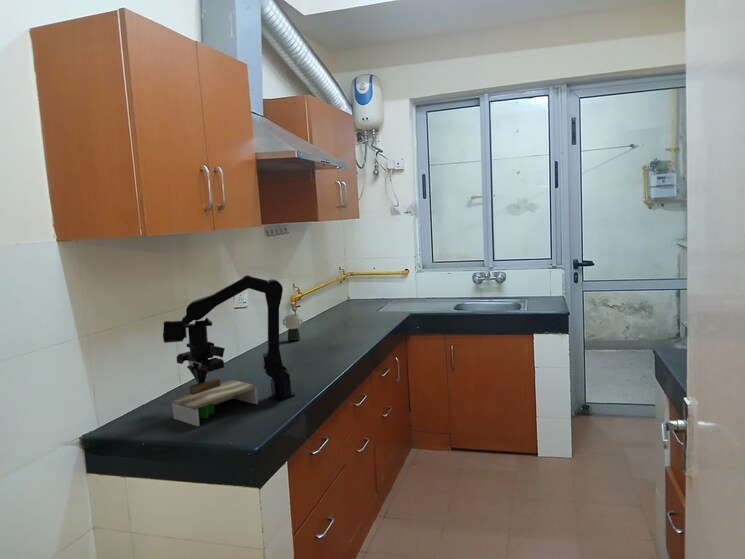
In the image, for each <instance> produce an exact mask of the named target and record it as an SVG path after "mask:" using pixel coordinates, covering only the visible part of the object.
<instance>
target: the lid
mask: <svg viewBox="0 0 745 559" xmlns="http://www.w3.org/2000/svg"><path fill="white" fill-rule="evenodd" d="M255 388H256V389H257V388H258V386H257V385H256V384H251V383H248V382H243V381H239V380H233V379H232V380H229V381H228V380H227V381H226V382H223V383H221V378H217V377H216V378H212V379H209V380H205V382H202V383H199V384H198V383H196V384H195V383H194V384H193V385H190V386H189V393H188V394H185V395H182V396H179V397H175V398H172V399H171V402H172V403H173V402H174V403H177V404H181V405H184V406H187V407H191V408H194V409H197V408H200V407H203V406H206V405H209V404H212V403H215V402H217V401H220V400H223V399H226V398H229V397H232V396H235V395H238V394H240V393H243V392H246V391H249V390H252V389H255Z"/></svg>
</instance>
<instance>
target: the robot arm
mask: <svg viewBox="0 0 745 559" xmlns="http://www.w3.org/2000/svg"><path fill="white" fill-rule="evenodd" d="M248 289H250V290H253V291H256V292H258V293H259V292H260V293H264V297H265V301H266V306H267V307H266V308H267V350H266V352H262V358H263V359H262V360H263V361H262V368H263V370H265V373H266V375H267V376H268V377H269V378H270V387H271V389H270V390H271V395H268V398H269V399H273V400H277V401H284V400H287V399H289V398H292V397H294V396H296V393H294V392H292V382H291V375H290V374H291V373H290V372H289V369H288V368H287V367H286V366H285V365H283V362H282V356H281V351H280V306H281V302H282V298H283V291H284V289H283V286H282V283H280V281H278V280H276V279H273V278H272V279H271V278H270V279H268V280H266V279H263V278H257V277H255V276H251V275H248V274H247V275H244V276H243V277H242V278H239V279H238V280H236V281H235V282H233V283H231V284H229V285H227V286H226V287H224V288H222V289H220V290H217V292H214V293H212V294H210V295H208V296H204V297H201V298H198V299H196V300H195V299H194V300H192V301H191V302H190V303H189V304H188V305H187V307H186V310H185V312H186V314H185V315H184V316H182V319H181V320H172V321H171V320H165V321H164V322H163V331H162V332H163V333H162V338H163V343H164V344H167V343H177V342H179V343H180V342H184V339H187V336H188V343H186V347H187V348H189V351H186V352H182V353H178V354H177V356H176V363H177V364H181V365H183V364H184V362H186V361H187V363H188V365H187V366H186V367H187V369H188V370H189V372H190V373H191V374H192V376H193V378H194V379H195V380H196V382H197V384H199V383H202V382H205V381H206V379H207V375H208V372H213V371H217V370H219V369H223V368H225V360H223V359H222V358H223V357H224V354H225V349H226V348H225V347H221V346H217V345H215V343H214V342H211V341H209V339H208V327H212V326H213V321H211V320H210V319H209V318H208V317H206V316H207V315H208V314H209V313H211V311H213V309H214V308H216V307H217V306H219V305H221V304H222V303H224V302H226V301H228V300H230V299H232V298H233V297H235V296H237V295H239V294H242V292H244V291H246V290H248ZM204 317H205V319H204V320H201V319H203V318H204ZM193 321H194V323H192V322H193ZM187 330H188V331H187ZM187 332H188V333H187ZM187 334H188V335H187ZM218 357H219V358H218Z"/></svg>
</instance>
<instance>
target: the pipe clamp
mask: <svg viewBox="0 0 745 559" xmlns="http://www.w3.org/2000/svg"><path fill="white" fill-rule="evenodd" d="M214 407H215V405H214V404H213V403H212V404H209V405H206V406H203V407H200V408H197V409H198V414H199V420H201V419H209V415H210V414H211V415H212V414H215V408H214Z"/></svg>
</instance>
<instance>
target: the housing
mask: <svg viewBox="0 0 745 559" xmlns="http://www.w3.org/2000/svg"><path fill="white" fill-rule="evenodd" d="M257 391H258V390H257V388H255V389H252V390H249V391H246V392H243V393H240V394H238V395H235V396H232V397H229V398H226V399H223V400H220V401H217V402H215V403H213V404H214V406H216V405H218V404H221V403H224V402H228V401H229V400H233V399H234V400H239V401H242V402H245V403H249V404H254V405H258V404H259V401H258V400H259V398H258V392H257ZM171 405H172V407H171V408H172V415H173V419H174V420H177V421H180V422H183V423H186V424H189V425H193V426H196V427H199V426H200V419H199V414H198V409H194V408H191V407H187V406H184V405H181V404H177V403H174V402H172V403H171Z"/></svg>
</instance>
